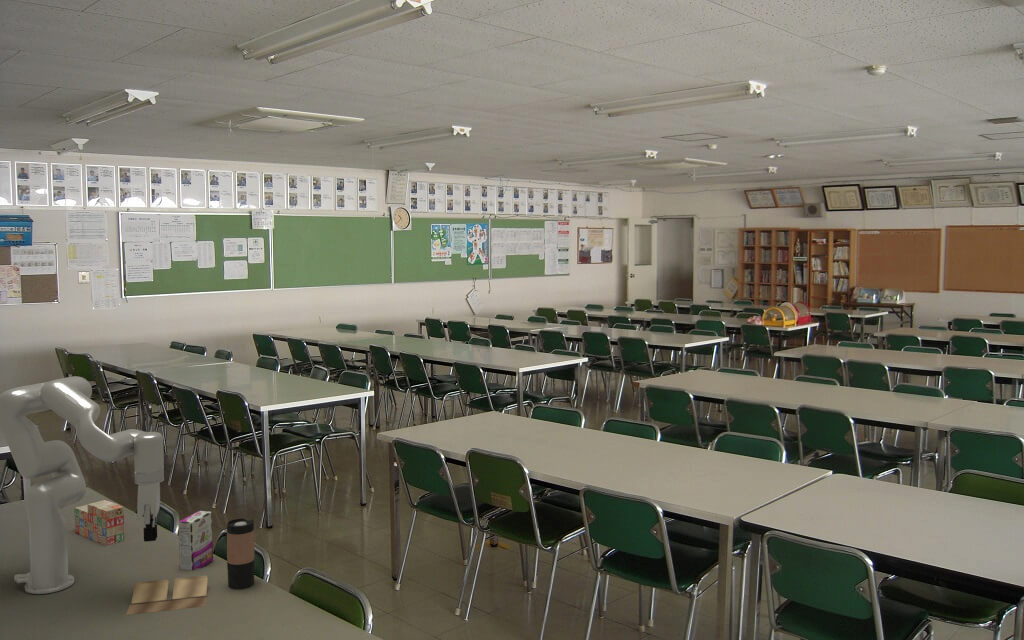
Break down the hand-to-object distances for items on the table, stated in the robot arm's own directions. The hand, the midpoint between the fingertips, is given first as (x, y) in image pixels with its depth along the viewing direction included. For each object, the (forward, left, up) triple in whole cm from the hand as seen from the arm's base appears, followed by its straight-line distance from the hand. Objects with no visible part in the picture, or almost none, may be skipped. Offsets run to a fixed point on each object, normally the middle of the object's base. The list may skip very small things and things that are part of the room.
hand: (150, 539), depth 223 cm
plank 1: (0, -2, -15) cm, 15 cm away
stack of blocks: (-24, +59, -18) cm, 66 cm away
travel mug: (+24, 0, -17) cm, 30 cm away
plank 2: (+11, -2, -15) cm, 19 cm away
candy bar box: (+10, +21, -17) cm, 29 cm away
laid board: (+5, -9, -17) cm, 20 cm away
